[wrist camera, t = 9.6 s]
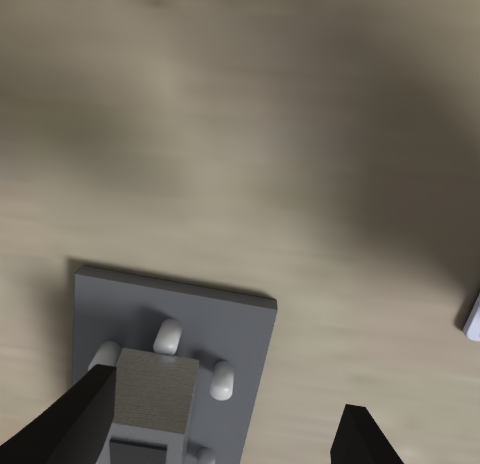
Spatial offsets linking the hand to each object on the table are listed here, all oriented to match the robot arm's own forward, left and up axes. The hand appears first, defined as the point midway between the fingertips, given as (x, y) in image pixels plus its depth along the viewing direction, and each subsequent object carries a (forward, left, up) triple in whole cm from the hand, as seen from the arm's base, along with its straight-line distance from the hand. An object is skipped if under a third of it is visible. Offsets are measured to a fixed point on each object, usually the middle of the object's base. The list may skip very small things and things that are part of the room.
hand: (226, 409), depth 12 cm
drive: (+3, +9, -8) cm, 12 cm away
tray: (+3, +10, -10) cm, 14 cm away
